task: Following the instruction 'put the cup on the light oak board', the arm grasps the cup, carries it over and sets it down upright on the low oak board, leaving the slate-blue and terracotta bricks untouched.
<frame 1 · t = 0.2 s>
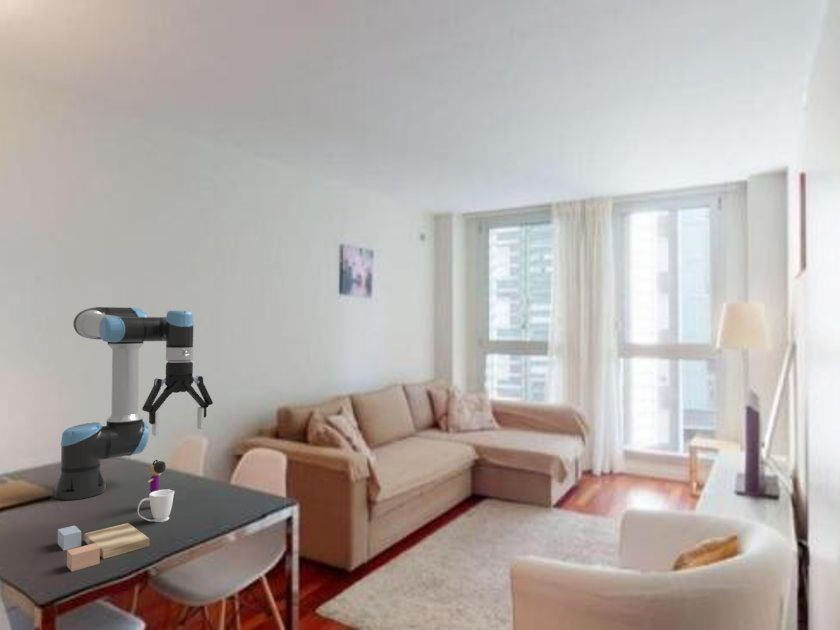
hand: (178, 431, 164), 26 cm above the table, fingers open, 13 cm apart
terracotta brick: (83, 565, 133), on the table
cup: (155, 521, 162), on the table
oak board: (116, 543, 145), on the table
slate brick: (69, 545, 144), on the table
toy: (157, 507, 174), on the table
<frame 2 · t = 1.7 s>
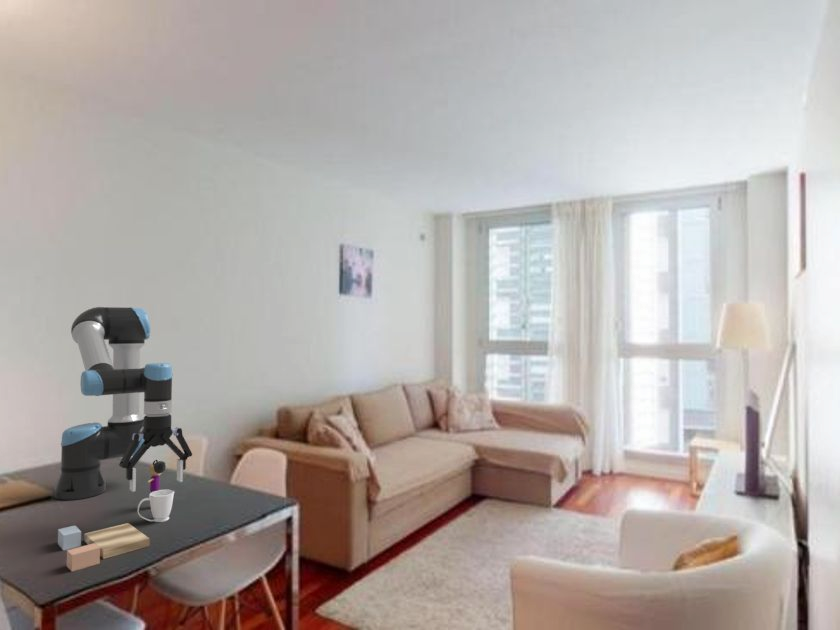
hand: (156, 485, 162), 10 cm above the table, fingers open, 13 cm apart
nothing on the table moved.
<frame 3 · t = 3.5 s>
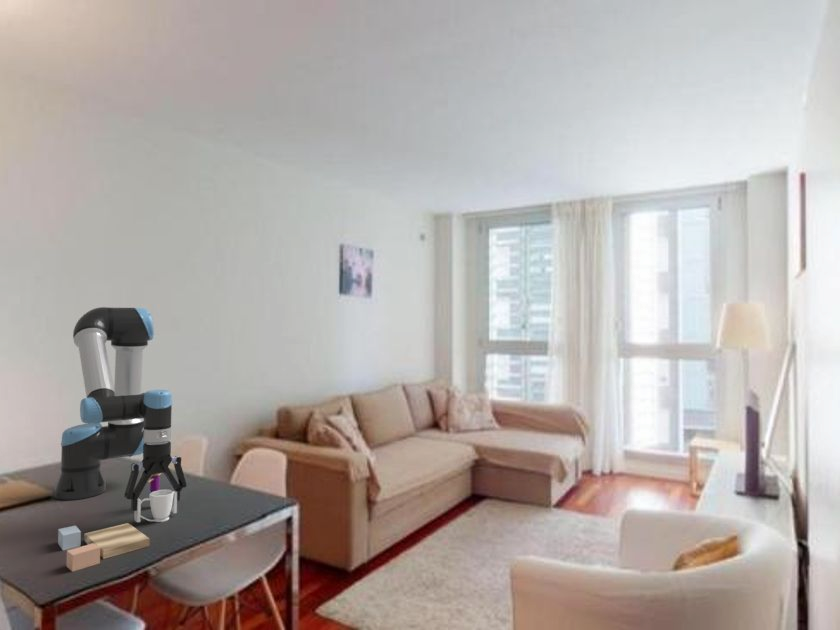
hand: (155, 516, 162), 1 cm above the table, fingers closed on cup, 10 cm apart
cup: (156, 521, 162), on the table, touching gripper
everything else where it was.
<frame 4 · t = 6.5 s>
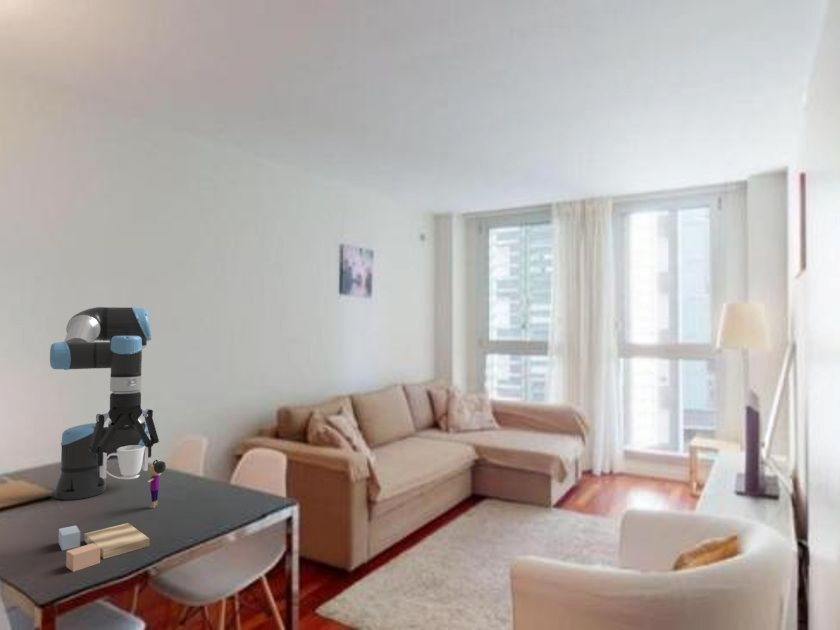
hand: (124, 473, 148), 18 cm above the table, fingers closed on cup, 10 cm apart
cup: (124, 478, 148), point 17 cm above the table, touching gripper
everything else where it was.
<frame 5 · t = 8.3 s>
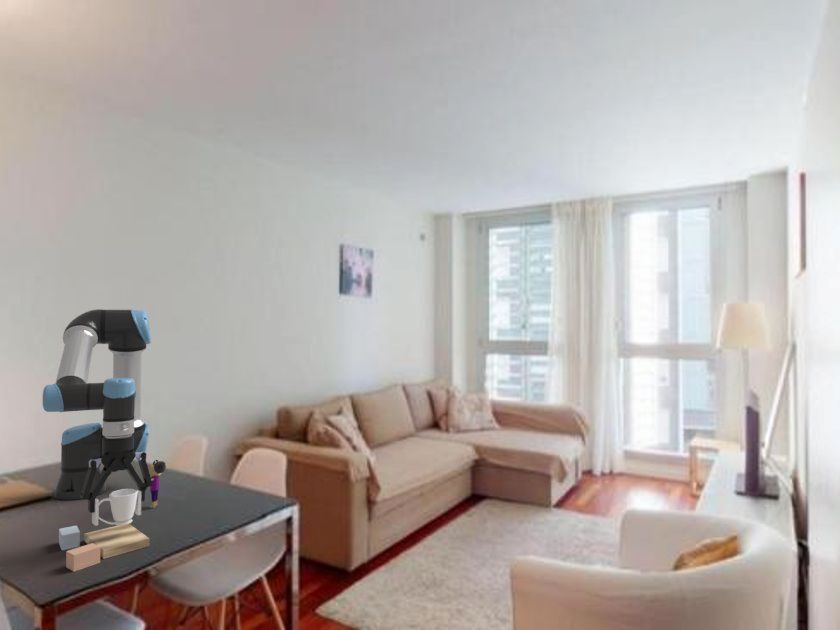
hand: (117, 518, 145), 7 cm above the table, fingers closed on cup, 10 cm apart
cup: (117, 524, 145), point 5 cm above the table, touching gripper
everything else where it was.
when the fingers open (4 cm above the table, at t = 9.7 s): cup stays where it is, resting on oak board.
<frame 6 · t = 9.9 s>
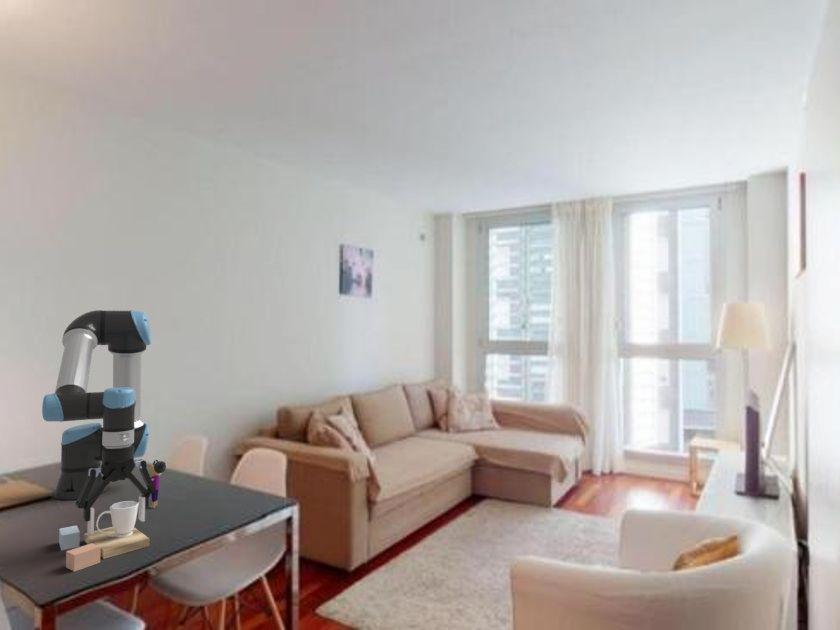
hand: (116, 526, 145), 5 cm above the table, fingers open, 12 cm apart
cup: (117, 536, 146), point 2 cm above the table, touching oak board
everything else where it was.
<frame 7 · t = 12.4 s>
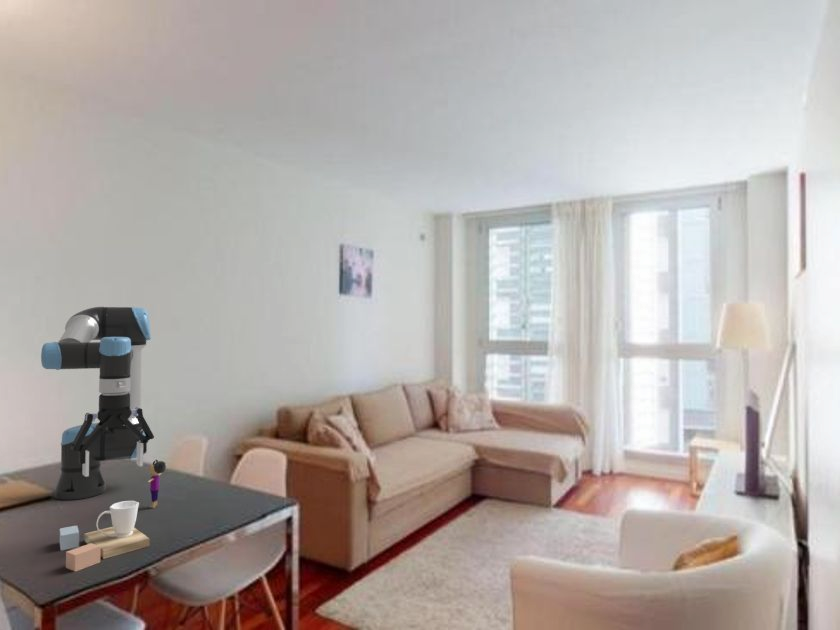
hand: (113, 470, 149), 19 cm above the table, fingers open, 13 cm apart
nothing on the table moved.
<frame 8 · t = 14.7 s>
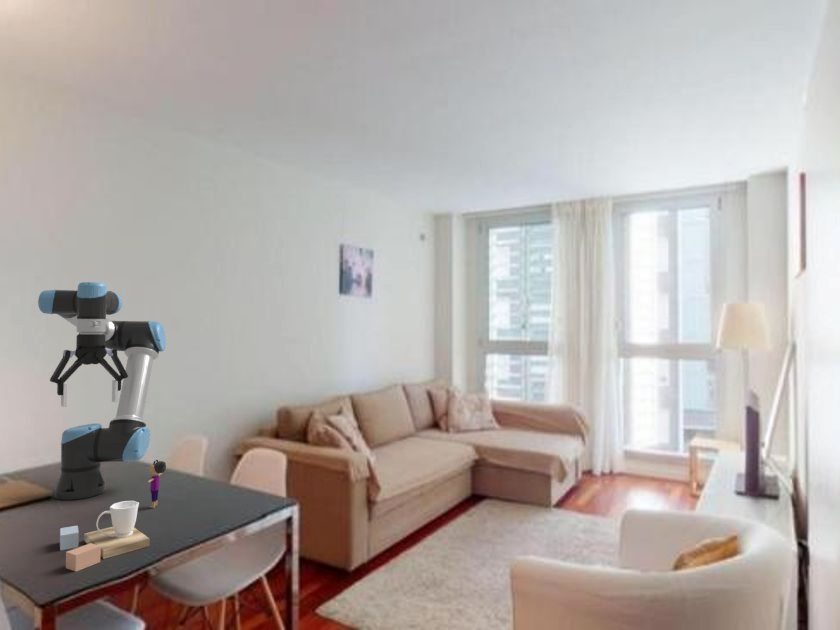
hand: (89, 404, 163), 35 cm above the table, fingers open, 13 cm apart
nothing on the table moved.
at the end: cup inside the target area on the oak board (0.3 cm from its centre), point 1.8 cm above the oak board's base; cup tilted 0°; terracotta brick moved 0.2 cm from its start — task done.
